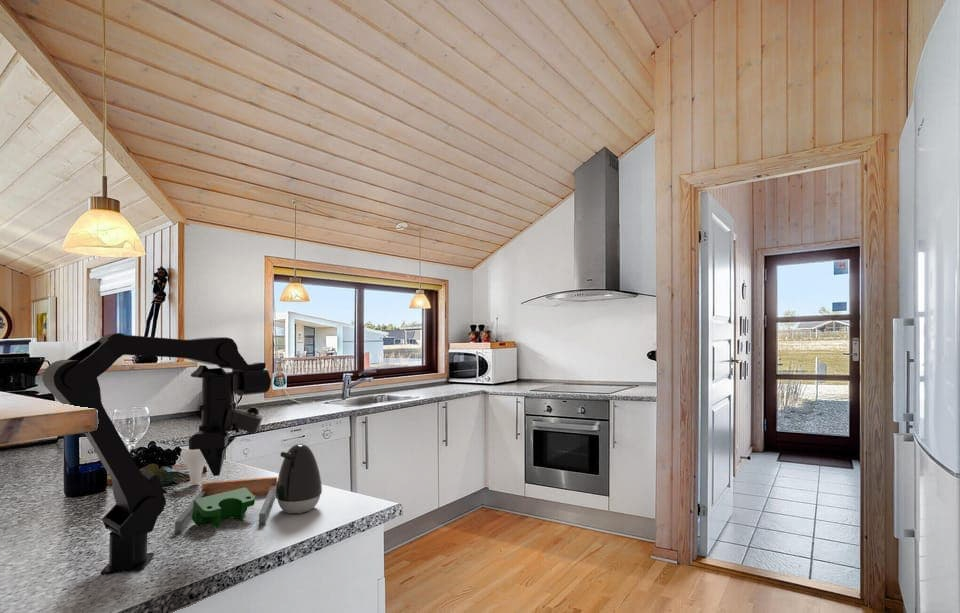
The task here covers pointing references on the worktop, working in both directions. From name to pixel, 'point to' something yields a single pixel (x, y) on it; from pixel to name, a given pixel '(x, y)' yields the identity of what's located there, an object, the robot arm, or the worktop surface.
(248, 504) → the clamp
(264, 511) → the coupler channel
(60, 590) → the worktop surface
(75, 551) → the worktop surface
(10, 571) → the worktop surface
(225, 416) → the robot arm
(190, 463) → the lightbulb
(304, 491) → the pump dispenser
